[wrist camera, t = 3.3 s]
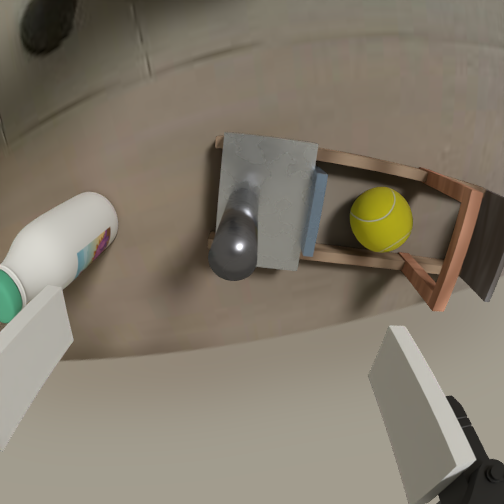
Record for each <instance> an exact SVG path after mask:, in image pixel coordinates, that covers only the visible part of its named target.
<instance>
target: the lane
mask: <svg viewBox="0 0 504 504" xmlns="http://www.w3.org/2000/svg"><path fill="white" fill-rule="evenodd" d="M223 142H224V136H220V135H219V136H216V143H215V148H220V149H223ZM316 160H318V161H324V162H330V163H336V164H342V165H347V166H353V167H358V168H363V169H368V170H373V171H378V172H383V173H387V174H392V175H397V176H401V177H405V178H410V179H414V180H418V181H420V182H423V183H425V184H427V185H429V186H431V187H433V188H435V189H437V190H439V191H441V192H442V193H444V194H446V195H448V196H450V197H452V198H454V199H456V200H458V201H459V202H461V205H460V209H459V213H458V217H457V220H456V224H455V228H454V231H453V234H452V238H451V241H450V244H449V247H448V250H447V253H446V257H445V259H444V260H443V259H436V258H428V257H421V256H413V255H410V254H409V253H402V252H399V253H390V252H384V253H379V252H374V251H371V250H367V249H359V248H351V247H343V246H335V245H327V244H318V243H315V248H314V253H313V257H308V256H303V254H302V251H301V252H300V257H299V259H304V260H313V261H322V262H331V263H341V264H350V265H359V266H368V267H377V268H386V269H395V270H401V271H402V272H403V273H404V275H405V276H406V277H407V279H408V280H409V281H410V282H411V284H412V285H413V286H414V287H415V289H416V290H417V291H418V293H419V294H420V295H421V297H422V298H423V299H424V301H425V302H426V303H427V305H428V306H429V307H430V309H431V310H432V311H444V310H445V307H446V305H447V303H448V300H449V298H450V296H451V293H452V291H453V288H454V286H455V283H456V280H457V278H458V276H460V277H461V278H462V279H463V280H464V281H465V282H466V283H467V284H468V285H469V286H470V287H471V288H472V289H473V290H474V291H475V292H476V293H477V294H478V296H479V297H480V298H481V299H482V300H483V301H484V302H489V301H490V299H491V297H492V294H493V292H494V290H495V287H496V285H497V282H498V280H499V277H500V275H501V272H502V270H503V267H504V197H502V196H500V195H498V194H496V193H494V192H492V191H489V190H487V189H485V188H483V187H480V186H477V185H474V184H471V183H468V182H465V181H461V180H458V179H455V178H451V177H448V176H444V175H441V174H439V173H436V172H434V171H431V170H428V169H425V168H421V167H419V169H418V168H414V167H410V166H406V165H402V164H398V163H394V162H389V161H385V160H380V159H376V158H371V157H366V156H362V155H357V154H351V153H346V152H341V151H335V150H330V149H324V148H318V151H317V158H316ZM215 234H216V232H213V231H211V233H210V235H209V238H208V248H207V249H210V248H211V245H212V243H213V240H214V237H215ZM427 273H432V274H439V277H438V279H437V282H436V283H435V281H434V280H433V279H432V278H431V277H430V276H429V275H428V274H427Z"/></svg>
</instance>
